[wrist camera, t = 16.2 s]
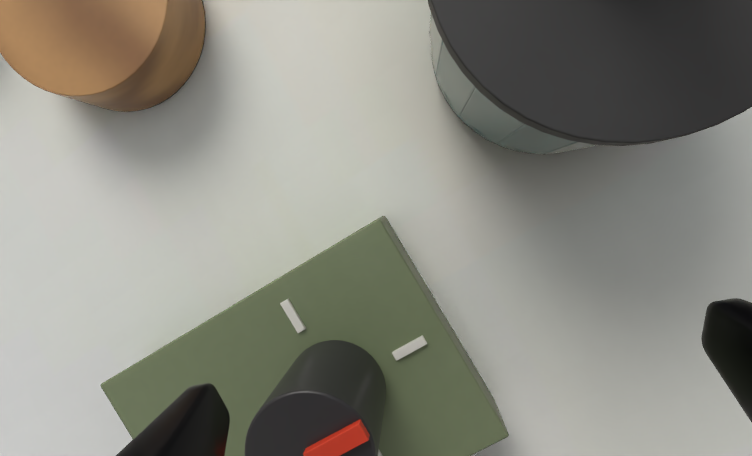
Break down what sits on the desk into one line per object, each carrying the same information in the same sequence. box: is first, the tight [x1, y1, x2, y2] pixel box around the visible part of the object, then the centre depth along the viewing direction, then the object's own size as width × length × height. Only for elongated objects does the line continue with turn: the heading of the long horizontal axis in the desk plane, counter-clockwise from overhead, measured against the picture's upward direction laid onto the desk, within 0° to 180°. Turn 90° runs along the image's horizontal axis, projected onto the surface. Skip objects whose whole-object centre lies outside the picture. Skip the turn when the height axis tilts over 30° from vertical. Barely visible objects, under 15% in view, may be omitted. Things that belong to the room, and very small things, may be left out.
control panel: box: [101, 216, 508, 456], centre depth 18 cm, size 14×10×3 cm
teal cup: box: [429, 13, 596, 154], centre depth 15 cm, size 10×10×7 cm
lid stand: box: [0, 0, 205, 112], centre depth 18 cm, size 8×8×3 cm
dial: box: [245, 340, 386, 456], centre depth 14 cm, size 4×4×5 cm
